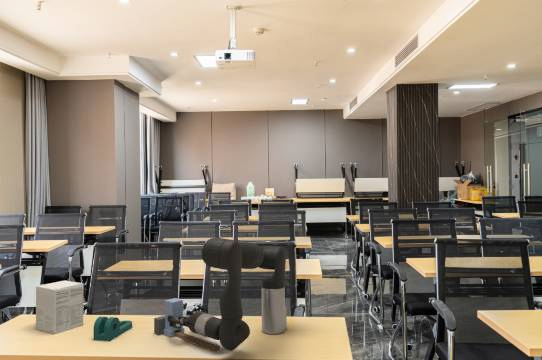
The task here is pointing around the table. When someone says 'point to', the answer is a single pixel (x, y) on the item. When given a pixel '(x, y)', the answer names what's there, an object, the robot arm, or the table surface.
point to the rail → (197, 341)
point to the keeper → (173, 309)
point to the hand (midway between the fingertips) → (177, 315)
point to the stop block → (159, 325)
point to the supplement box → (59, 306)
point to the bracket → (110, 328)
